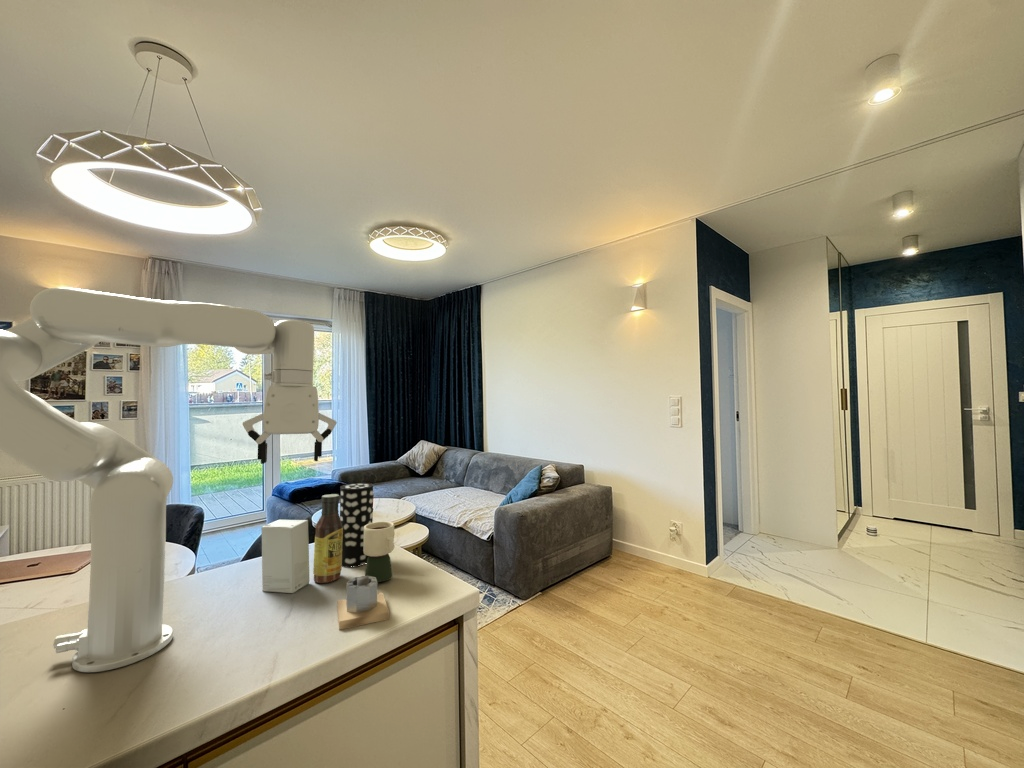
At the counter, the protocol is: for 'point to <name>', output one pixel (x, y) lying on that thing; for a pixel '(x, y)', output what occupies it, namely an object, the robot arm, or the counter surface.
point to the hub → (361, 596)
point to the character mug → (379, 549)
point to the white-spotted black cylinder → (355, 521)
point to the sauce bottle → (328, 542)
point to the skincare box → (285, 556)
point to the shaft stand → (363, 618)
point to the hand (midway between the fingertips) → (290, 461)
